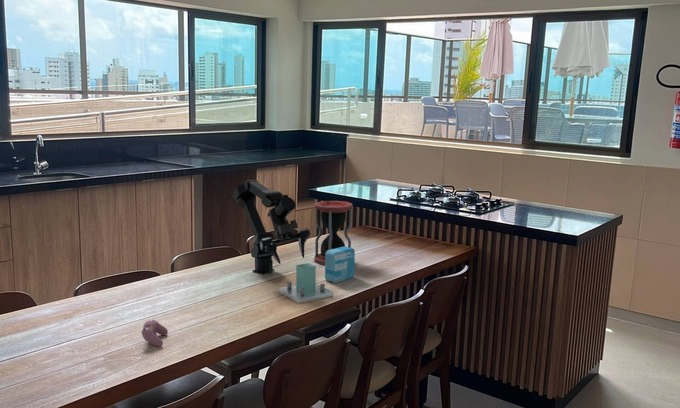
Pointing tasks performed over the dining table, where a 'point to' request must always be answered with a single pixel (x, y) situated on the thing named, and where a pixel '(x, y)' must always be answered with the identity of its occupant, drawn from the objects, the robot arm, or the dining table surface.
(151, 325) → the video game controller
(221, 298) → the dining table surface
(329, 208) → the hourglass
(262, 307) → the dining table surface
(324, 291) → the plate
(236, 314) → the dining table surface
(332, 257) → the blue printed box
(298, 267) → the module box
